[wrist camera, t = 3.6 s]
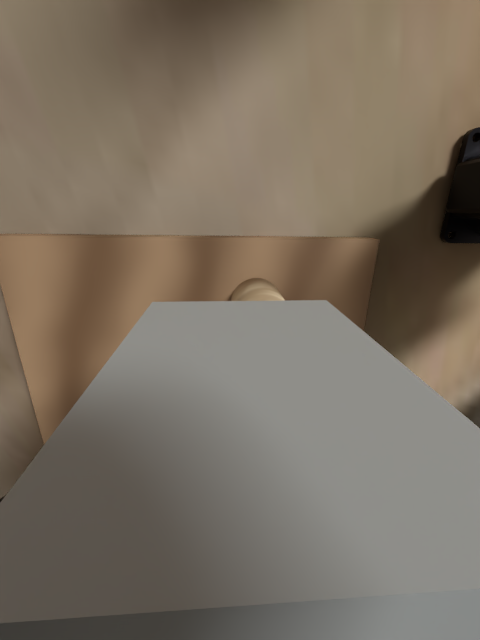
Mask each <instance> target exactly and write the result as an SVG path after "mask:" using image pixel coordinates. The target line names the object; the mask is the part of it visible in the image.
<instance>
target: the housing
mask: <svg viewBox="0 0 480 640" xmlns="http://www.w3.org/2000/svg"><path fill="white" fill-rule="evenodd" d="M0 640H480V428H478V427H477V426H476V425H475V424H474V423H472V422H471V421H470V420H469V419H468V418H467V417H465V416H464V415H463V414H462V413H461V412H459V411H458V410H457V409H456V408H455V407H453V406H452V405H451V404H450V403H449V402H447V401H446V400H445V399H444V398H443V397H441V396H440V395H439V394H438V393H437V392H436V391H434V390H433V389H432V388H431V387H430V386H428V385H427V384H426V383H425V382H424V381H422V380H421V379H420V378H419V377H418V376H416V375H415V374H414V373H413V372H412V371H410V370H409V369H408V368H407V367H406V366H404V365H403V364H402V363H401V362H400V361H399V360H397V359H396V358H395V357H394V356H393V355H391V354H390V353H389V352H388V351H387V350H385V349H384V348H383V347H382V346H381V345H379V344H378V343H377V342H376V341H375V340H373V339H372V338H371V337H370V336H369V335H368V334H366V333H365V332H364V331H363V330H362V329H360V328H359V327H358V326H357V325H356V324H354V323H353V322H352V321H351V320H350V319H348V318H347V317H346V316H345V315H344V314H342V313H341V312H340V311H339V310H338V309H336V308H335V307H334V306H333V305H332V304H331V303H329V302H328V301H327V300H291V301H191V302H152V303H151V304H150V306H149V307H148V308H147V310H146V311H145V312H144V314H143V315H142V316H141V318H140V319H139V320H138V321H137V323H136V324H135V325H134V327H133V328H132V329H131V331H130V332H129V333H128V335H127V336H126V337H125V339H124V340H123V341H122V343H121V344H120V345H119V347H118V348H117V349H116V351H115V352H114V353H113V355H112V356H111V357H110V358H109V360H108V361H107V362H106V364H105V365H104V366H103V368H102V369H101V370H100V372H99V373H98V374H97V376H96V377H95V378H94V380H93V381H92V382H91V384H90V385H89V386H88V388H87V389H86V390H85V392H84V393H83V394H82V395H81V397H80V398H79V399H78V401H77V402H76V403H75V405H74V406H73V407H72V409H71V410H70V411H69V413H68V414H67V415H66V417H65V418H64V419H63V421H62V422H61V423H60V425H59V426H58V427H57V428H56V430H55V431H54V432H53V434H52V435H51V436H50V438H49V439H48V440H47V442H46V443H45V444H44V446H43V447H42V448H41V450H40V451H39V452H38V454H37V455H36V456H35V458H34V459H33V460H32V462H31V463H30V464H29V465H28V467H27V468H26V469H25V471H24V472H23V473H22V475H21V476H20V477H19V479H18V480H17V481H16V483H15V484H14V485H13V487H12V488H11V489H10V491H9V492H8V493H7V495H6V496H5V497H4V499H3V500H2V501H1V502H0Z"/></svg>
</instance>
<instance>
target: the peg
mask: <svg viewBox="0 0 480 640" xmlns="http://www.w3.org/2000/svg"><path fill="white" fill-rule="evenodd" d="M231 301H285V300H284V298H283V297H282V295H281V294H280V292H279V291H278V290H277V288H276V287H275V286H274V285H273V284H272V283H271V282H270V281H268V280H265V279H262V278H251V279H248V280H245V281H243V282H242V283H240V284H239V285H238V286H237V287H236V289H235V290H234V292H233V295H232V298H231Z"/></svg>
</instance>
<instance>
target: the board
mask: <svg viewBox="0 0 480 640" xmlns="http://www.w3.org/2000/svg"><path fill="white" fill-rule="evenodd" d="M379 240H380V239H374V238H369V237H279V236H180V235H81V234H0V285H1V289H2V292H3V296H4V300H5V304H6V307H7V311H8V315H9V318H10V322H11V326H12V329H13V333H14V337H15V340H16V344H17V348H18V351H19V355H20V359H21V362H22V366H23V370H24V373H25V377H26V381H27V384H28V388H29V392H30V395H31V399H32V403H33V406H34V410H35V414H36V417H37V421H38V425H39V428H40V432H41V436H42V440H43V443H44V444H45V443H46V442H47V440H48V439H49V438H50V436H51V435H52V434H53V432H54V431H55V430H56V428H57V427H58V426H59V425H60V423H61V422H62V421H63V419H64V418H65V417H66V415H67V414H68V413H69V411H70V410H71V409H72V407H73V406H74V405H75V403H76V402H77V401H78V399H79V398H80V397H81V395H82V394H83V393H84V392H85V390H86V389H87V388H88V386H89V385H90V384H91V382H92V381H93V380H94V378H95V377H96V376H97V374H98V373H99V372H100V370H101V369H102V368H103V366H104V365H105V364H106V362H107V361H108V360H109V358H110V357H111V356H112V355H113V353H114V352H115V351H116V349H117V348H118V347H119V345H120V344H121V343H122V341H123V340H124V339H125V337H126V336H127V335H128V333H129V332H130V331H131V329H132V328H133V327H134V325H135V324H136V323H137V321H138V320H139V319H140V318H141V316H142V315H143V314H144V312H145V311H146V310H147V308H148V307H149V306H150V304H151V303H152V302H191V301H231V298H232V295H233V292H234V290H235V289H236V287H237V286H238V285H239V284H240V283H242V282H243V281H245V280H248V279H251V278H262V279H265V280H268V281H270V282H271V283H272V284H273V285H274V286H275V287H276V288H277V290H278V291H279V292H280V294H281V295H282V297H283V298H284V300H285V301H291V300H327V301H328V302H329V303H331V304H332V305H333V306H334V307H335V308H336V309H338V310H339V311H340V312H341V313H342V314H344V315H345V316H346V317H347V318H348V319H350V320H351V321H352V322H353V323H354V324H356V325H357V326H358V327H359V328H360V329H362V330H363V331H364V327H365V322H366V316H367V310H368V304H369V298H370V293H371V287H372V281H373V275H374V269H375V263H376V258H377V252H378V246H379Z"/></svg>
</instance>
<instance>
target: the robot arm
mask: <svg viewBox="0 0 480 640" xmlns="http://www.w3.org/2000/svg"><path fill="white" fill-rule="evenodd" d="M473 135H475V141H474V142H473V140H472V137H473ZM450 232H451V236H450V237H449V238H448V234H449V233H450ZM440 238H441V240H442V241H443V242H447V243H480V127H479V128H475V129H472V130H469V131H468V132H467V133H466V134H465V136H464V138H463V142H462V146H461V150H460V154H459V158H458V163H457V167H456V169H455V173H454V177H453V182H452V186H451V190H450V194H449V198H448V202H447V207H446V213H445V217H444V221H443V225H442V230H441V234H440ZM6 495H7V494H6ZM6 495H5V496H6ZM5 496H4V497H5ZM4 497H2V498H1V499H0V502H1V501H2V500H3V499H4Z"/></svg>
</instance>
